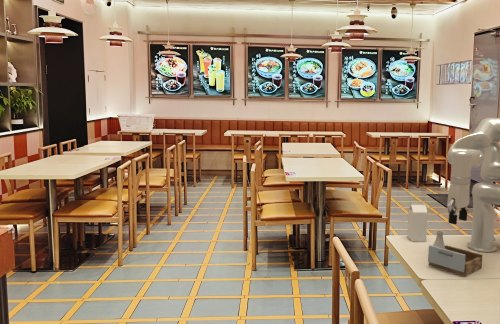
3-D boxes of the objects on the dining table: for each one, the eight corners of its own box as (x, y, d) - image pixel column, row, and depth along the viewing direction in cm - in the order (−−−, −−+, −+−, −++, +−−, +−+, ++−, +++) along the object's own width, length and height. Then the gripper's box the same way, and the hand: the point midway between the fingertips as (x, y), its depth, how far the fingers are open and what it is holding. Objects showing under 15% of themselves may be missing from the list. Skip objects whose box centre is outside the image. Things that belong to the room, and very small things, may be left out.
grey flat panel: (429, 260, 200) (430, 245, 199) (464, 271, 189) (465, 254, 188) (427, 261, 199) (428, 246, 198) (462, 272, 188) (463, 255, 187)
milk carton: (425, 241, 233) (428, 204, 230) (411, 241, 233) (413, 204, 230) (421, 237, 240) (423, 201, 237) (407, 237, 240) (408, 201, 237)
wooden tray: (445, 258, 210) (446, 245, 209) (481, 268, 198) (482, 254, 197) (428, 265, 201) (429, 251, 200) (465, 276, 189) (466, 262, 188)
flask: (448, 255, 214) (450, 234, 212) (431, 254, 215) (433, 233, 213) (445, 250, 221) (446, 229, 219) (429, 249, 222) (430, 228, 220)
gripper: (461, 177, 202) (459, 216, 205) (440, 182, 191) (438, 223, 194) (479, 179, 196) (476, 220, 199) (458, 184, 186) (455, 227, 188)
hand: (457, 221), depth 197 cm, fingers open, 7 cm apart
